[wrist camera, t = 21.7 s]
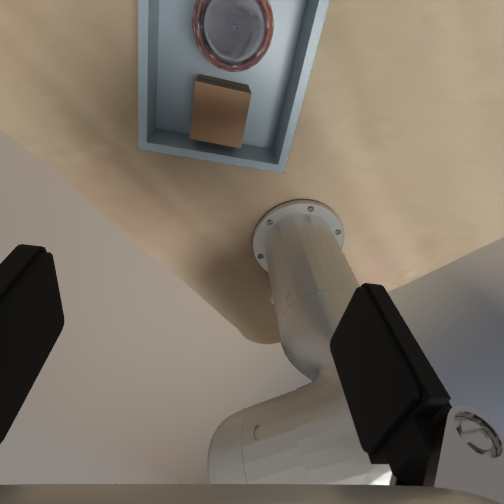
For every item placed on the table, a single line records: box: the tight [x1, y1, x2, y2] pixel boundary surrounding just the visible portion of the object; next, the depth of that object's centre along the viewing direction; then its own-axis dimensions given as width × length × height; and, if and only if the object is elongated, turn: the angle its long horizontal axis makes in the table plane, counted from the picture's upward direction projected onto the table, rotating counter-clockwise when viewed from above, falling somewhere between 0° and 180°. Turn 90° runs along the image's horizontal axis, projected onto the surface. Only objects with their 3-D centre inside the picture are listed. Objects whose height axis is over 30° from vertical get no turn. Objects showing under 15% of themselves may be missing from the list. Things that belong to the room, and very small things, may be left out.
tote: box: [138, 0, 329, 173], centre depth 30 cm, size 18×15×6 cm
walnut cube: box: [190, 74, 252, 148], centre depth 32 cm, size 5×5×5 cm
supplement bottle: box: [192, 0, 274, 72], centre depth 26 cm, size 6×6×11 cm
